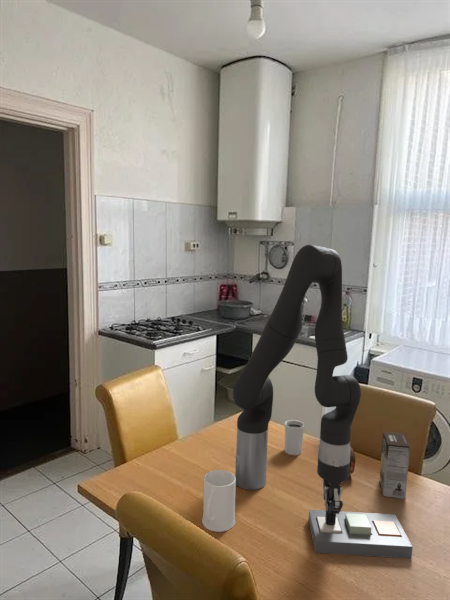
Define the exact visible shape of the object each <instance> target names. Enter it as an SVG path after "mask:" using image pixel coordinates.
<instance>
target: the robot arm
mask: <svg viewBox="0 0 450 600" xmlns="http://www.w3.org/2000/svg"><path fill="white" fill-rule="evenodd" d="M313 283H315V284H318V286H319V291H320V297H321V298H320V299H321V301H320V302H321V303H320V308H319V312H318V315H317V319H316V322H315V326H314V343H315V348H316V356H317V366H316V376H315V382H314V395H315V398H316V401H317V402H318V404H319V405H320V406H322V407H324V408H334V409H333V410H331V411H329V412H327V413H324V414H323V415H322V416H321V419H320V434H319V443H318V449H317V466H316V467H317V469H316V473H317V474H318V476H319V477H320V478H321V479H322V490H323V493H322V494H323V501H324V507H325V511H326V514H325V521H326V524H327V525H335V521H336V514H339V513H340V511H341V510H342V508H343V505H344V503H343V500H341V495H342V493H343V486H342V485H341V484H342V483H344V482H346V481H348V480H349V477H350V474H349V470H350V453H351V448H352V447H351V448H350V446H351V433H352V424H353V420H354V418H355V416H356V413H357V410H358V408H359V404H360V402H361V397H362V388H361V385H360V383H359V381H358V379H356V377H355V376H352V375H349V374H348V375H347V374H346V375H334V371H335V368H337V367H339V366H342V365H344V364H346V363H347V362H348V356H349V355H348V351H347V344H346V338H345V332H344V325H343V324H344V323H343V265H342V260H341V256H340V254H339V253H338V252H337V251H336V250H335V249H332V248H330V247H324V246H319V245H315V244H306V245H304V246H301V248H299V250H298V251H297V252H296V254H295V255H294V258H293V261H292V262H291V266H290V268H289V271H288V274H287V277H286V279H285V282H284V285H283V287H282V290H281V292H280V294H279V297H278V299H277V301H276V303H275V306H274V308H273V310H272V312H271V314H270V316H269V318H267V322H266V324H265V325H264V328H263V330H262V332H261V335H260V337H259V339H258V341H257V343H256V345H255V347H254V349H253V351H252V354H251V356H250V357H249V359H248V361H247V363H246V364H245V366H244V367H243V369H242V370H241V372H240V374H239V376H238V377H237V378H236V380H235V382H234V385H233V388H232V398H233V401H234V403H235V405H236V406H237V407H239V408H241V409H242V412H241V413H240V414H239V415H238V417H237V420H236V422H237V423H236V444H235V445H236V449H235V469H234V470H235V473H234V475H235V477H236V487H239V488H241V489H243V490H249V491H252V490H253V491H254V490H260V489H262V488H263V487H265V485H267V484H266V483H267V468H268V467H267V466H268V463H267V461H268V439H269V423H270V421H271V419H272V415H273V406H274V405H273V403H274V387H273V382H272V380H271V379H270V377H269V376H270V375H271V373H272V372H273V371H274V370H275V368H277V367H278V365H280V364H281V362H282V361H283V360H284V359H285V358H286V357H287V356H288V354H289V353H290V352H291V351H292V349H293V348H294V346H295V344H296V342H297V340H298V338H299V336H300V334H301V332H302V329H303V309H302V307H303V306H302V305H303V301H304V297H305V296H306V294H307V292H308V290H309V288H310V286H311V285H312V284H313Z"/></svg>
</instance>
